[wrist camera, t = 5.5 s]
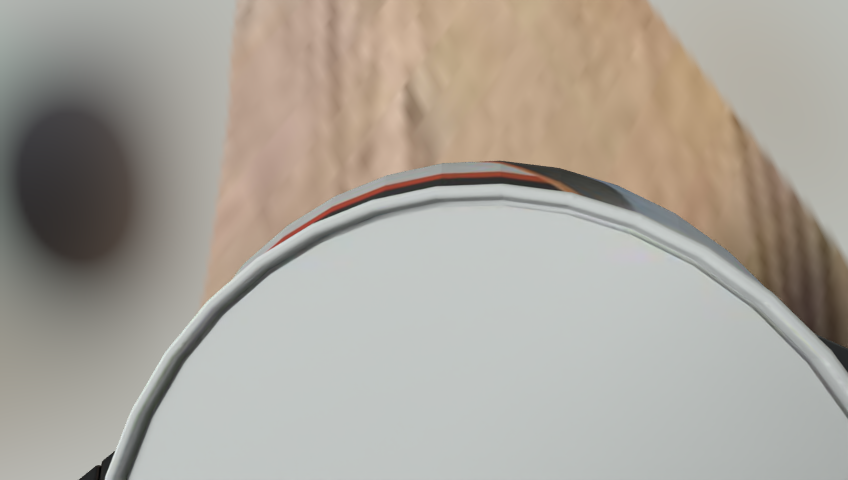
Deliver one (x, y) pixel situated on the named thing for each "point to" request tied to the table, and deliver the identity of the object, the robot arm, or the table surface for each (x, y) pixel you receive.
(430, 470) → the beverage can
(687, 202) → the table surface
